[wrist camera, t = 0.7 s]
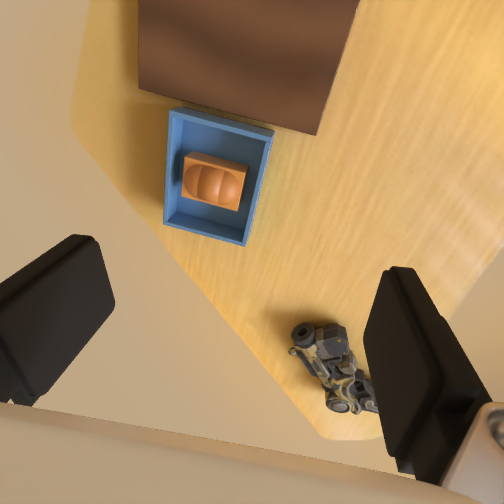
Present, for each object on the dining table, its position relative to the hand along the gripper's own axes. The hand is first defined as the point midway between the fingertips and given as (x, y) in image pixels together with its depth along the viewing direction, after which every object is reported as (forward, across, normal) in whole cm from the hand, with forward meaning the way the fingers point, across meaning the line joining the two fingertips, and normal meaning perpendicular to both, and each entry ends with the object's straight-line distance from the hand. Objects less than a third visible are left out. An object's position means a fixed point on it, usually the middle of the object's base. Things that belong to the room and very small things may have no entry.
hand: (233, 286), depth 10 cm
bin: (+32, +9, +6) cm, 34 cm away
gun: (+32, -15, +41) cm, 55 cm away
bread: (+31, +9, +6) cm, 33 cm away
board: (+32, +6, -8) cm, 33 cm away
